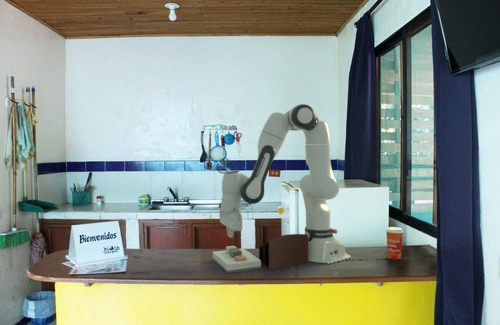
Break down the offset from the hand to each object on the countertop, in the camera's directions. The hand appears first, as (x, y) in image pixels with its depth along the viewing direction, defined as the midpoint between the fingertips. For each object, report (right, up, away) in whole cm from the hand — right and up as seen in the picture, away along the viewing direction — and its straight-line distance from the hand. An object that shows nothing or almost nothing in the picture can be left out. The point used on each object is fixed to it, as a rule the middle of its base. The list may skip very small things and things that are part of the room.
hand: (230, 236), depth 161 cm
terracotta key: (+5, -9, -10) cm, 14 cm away
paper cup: (+76, -11, +4) cm, 77 cm away
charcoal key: (+3, -8, -5) cm, 10 cm away
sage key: (+1, -8, 0) cm, 8 cm away
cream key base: (+3, -11, -5) cm, 12 cm away
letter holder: (+24, -11, -4) cm, 27 cm away
